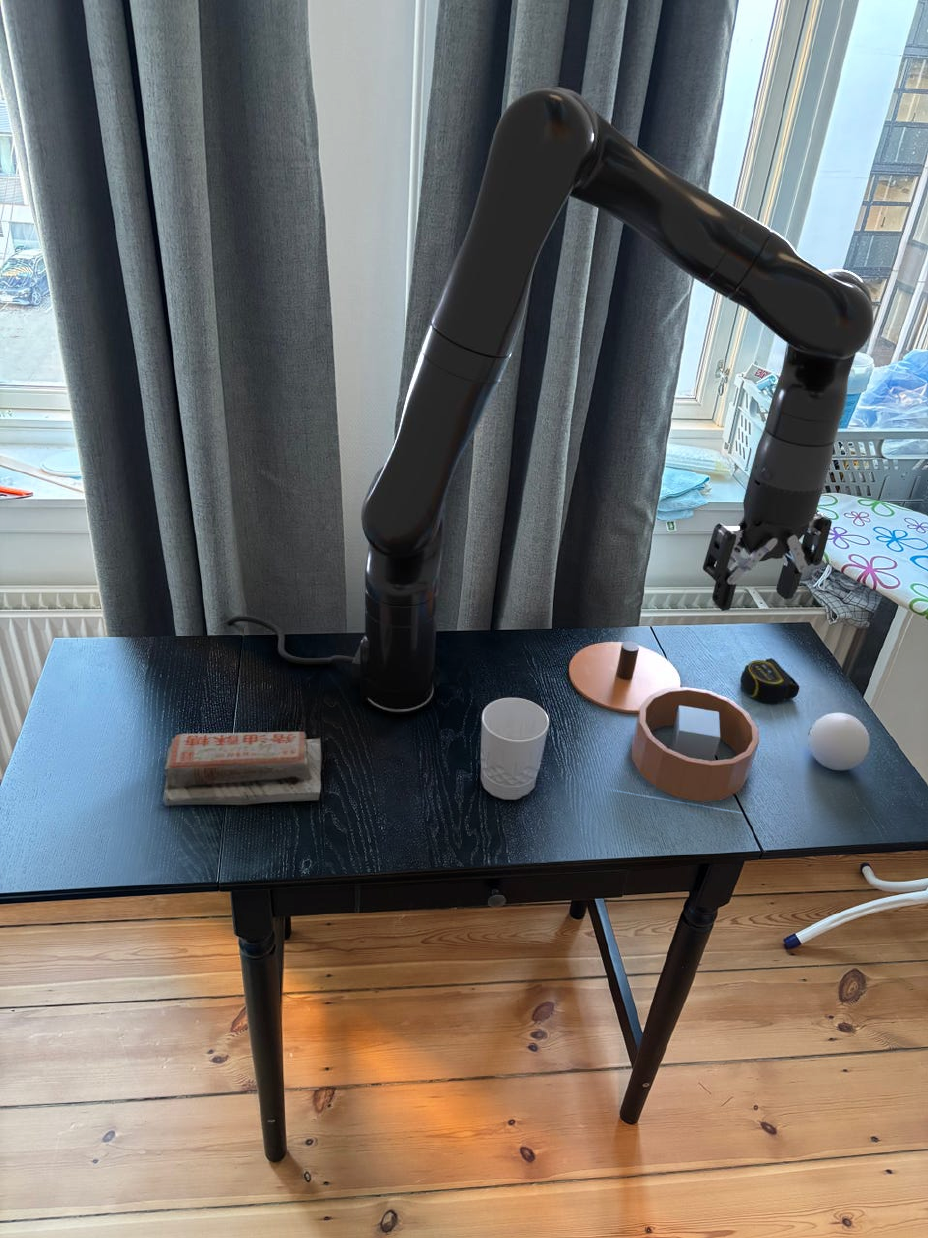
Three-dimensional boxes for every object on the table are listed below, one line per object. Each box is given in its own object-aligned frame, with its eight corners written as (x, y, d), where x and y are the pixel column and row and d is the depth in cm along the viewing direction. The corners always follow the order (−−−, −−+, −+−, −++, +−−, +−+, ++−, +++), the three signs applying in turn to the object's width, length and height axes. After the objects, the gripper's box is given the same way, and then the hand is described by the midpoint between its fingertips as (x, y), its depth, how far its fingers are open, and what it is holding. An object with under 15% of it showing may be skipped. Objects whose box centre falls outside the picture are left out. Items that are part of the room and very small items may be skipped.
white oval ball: (870, 782, 121) (888, 739, 117) (814, 783, 121) (830, 739, 116) (839, 730, 129) (855, 687, 125) (786, 730, 129) (800, 687, 125)
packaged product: (157, 778, 107) (169, 720, 116) (162, 809, 110) (174, 750, 118) (320, 772, 110) (320, 716, 118) (321, 802, 112) (321, 745, 121)
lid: (562, 706, 130) (568, 670, 127) (573, 640, 143) (578, 606, 139) (679, 725, 128) (688, 689, 125) (679, 657, 141) (687, 623, 138)
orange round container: (628, 792, 117) (637, 753, 113) (633, 717, 129) (641, 679, 125) (749, 813, 115) (762, 774, 112) (743, 735, 127) (754, 697, 124)
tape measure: (797, 704, 133) (804, 683, 131) (754, 711, 132) (761, 690, 129) (770, 675, 139) (776, 654, 137) (728, 681, 137) (734, 660, 135)
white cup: (495, 812, 113) (502, 748, 107) (464, 769, 119) (470, 707, 113) (552, 792, 116) (561, 730, 111) (519, 752, 122) (527, 690, 116)
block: (669, 769, 120) (678, 730, 116) (669, 743, 124) (678, 705, 121) (709, 776, 120) (720, 737, 116) (708, 750, 124) (719, 711, 120)
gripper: (821, 451, 106) (784, 575, 115) (711, 464, 101) (681, 593, 110) (866, 481, 100) (824, 609, 109) (752, 496, 95) (718, 629, 104)
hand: (752, 601), depth 110 cm, fingers open, 8 cm apart
